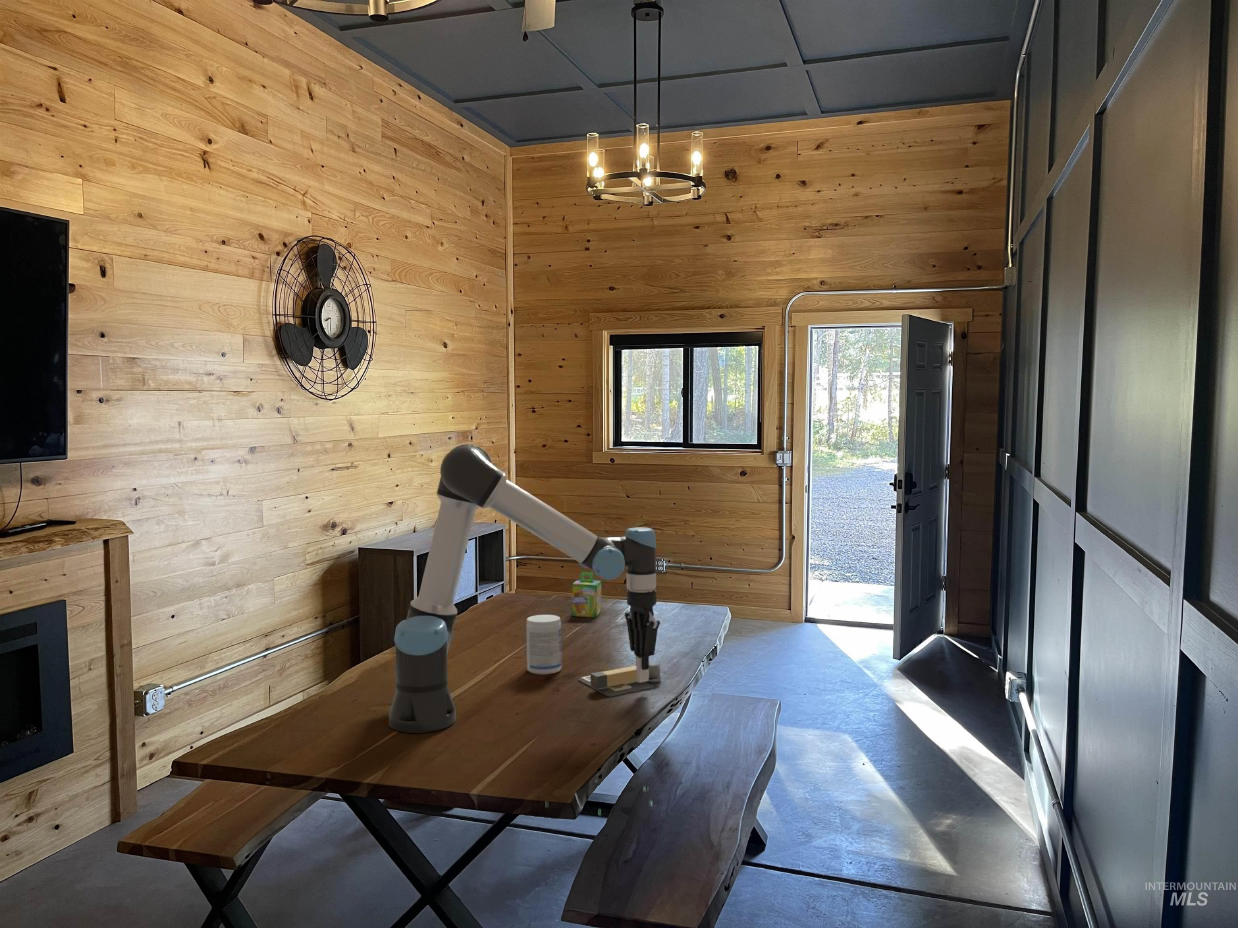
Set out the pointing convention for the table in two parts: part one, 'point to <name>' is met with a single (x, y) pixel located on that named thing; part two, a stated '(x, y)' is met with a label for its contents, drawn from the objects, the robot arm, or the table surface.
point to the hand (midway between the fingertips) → (642, 680)
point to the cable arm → (621, 676)
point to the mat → (608, 692)
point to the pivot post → (654, 680)
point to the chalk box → (586, 596)
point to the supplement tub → (543, 644)
